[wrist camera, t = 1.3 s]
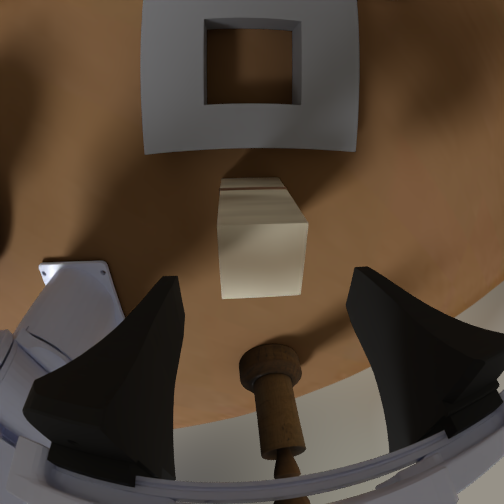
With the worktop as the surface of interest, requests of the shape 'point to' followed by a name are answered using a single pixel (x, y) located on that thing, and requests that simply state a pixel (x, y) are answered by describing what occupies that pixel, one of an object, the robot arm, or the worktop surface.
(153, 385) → the robot arm
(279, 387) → the brown capped rod
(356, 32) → the socket board
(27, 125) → the worktop surface
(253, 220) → the peg
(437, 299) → the worktop surface
